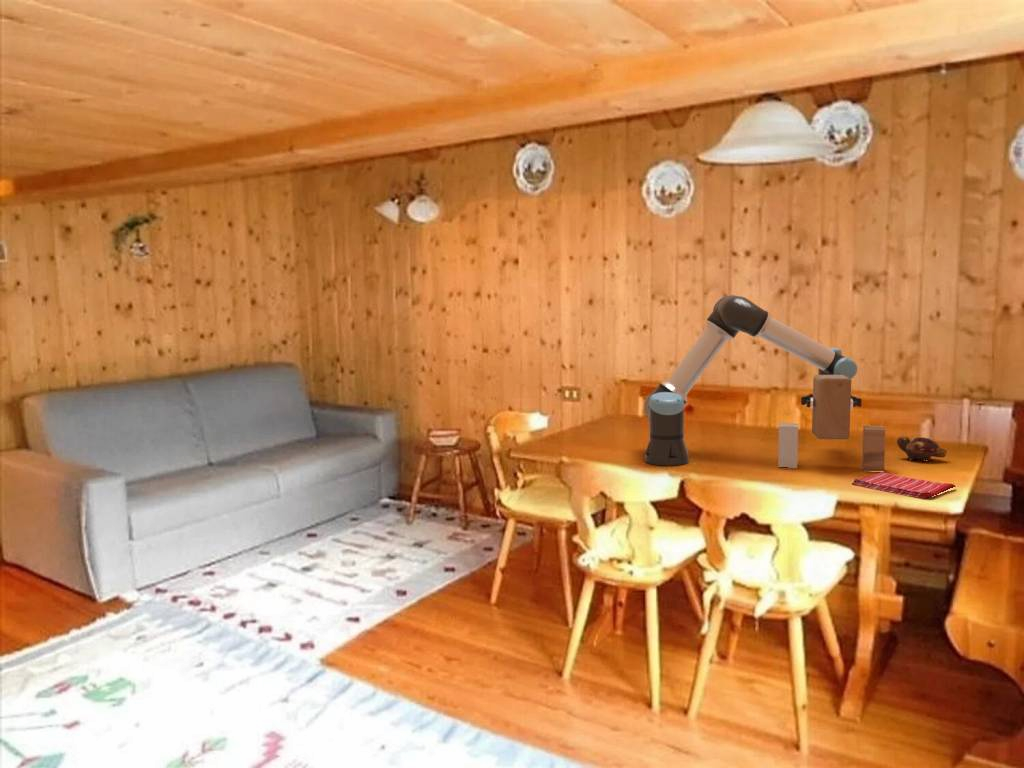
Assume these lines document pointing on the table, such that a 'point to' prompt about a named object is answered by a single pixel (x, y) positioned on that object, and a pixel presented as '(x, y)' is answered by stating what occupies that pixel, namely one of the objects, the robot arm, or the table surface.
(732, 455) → the table surface
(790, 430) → the grey painted block
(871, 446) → the walnut block
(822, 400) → the wooden block
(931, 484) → the dish towel
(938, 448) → the decorative turtle
